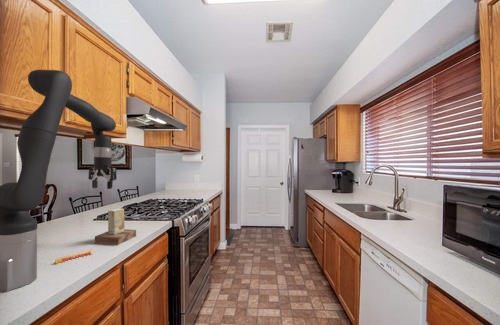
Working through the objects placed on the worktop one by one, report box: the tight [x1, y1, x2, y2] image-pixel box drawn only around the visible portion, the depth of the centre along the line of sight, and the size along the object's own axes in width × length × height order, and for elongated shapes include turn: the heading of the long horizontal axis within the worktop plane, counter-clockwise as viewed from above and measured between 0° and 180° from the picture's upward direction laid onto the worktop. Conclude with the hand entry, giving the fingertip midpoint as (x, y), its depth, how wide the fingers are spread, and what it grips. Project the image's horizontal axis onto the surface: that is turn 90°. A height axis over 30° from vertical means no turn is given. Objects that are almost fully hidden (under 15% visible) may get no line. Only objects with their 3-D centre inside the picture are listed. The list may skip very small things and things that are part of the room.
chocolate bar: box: [54, 249, 93, 265], centre depth 91 cm, size 3×12×2 cm, turn 142°
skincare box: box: [107, 207, 125, 235], centre depth 114 cm, size 6×4×12 cm
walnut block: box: [94, 228, 137, 246], centre depth 114 cm, size 13×13×4 cm
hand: (102, 188), depth 111 cm, fingers open, 8 cm apart
